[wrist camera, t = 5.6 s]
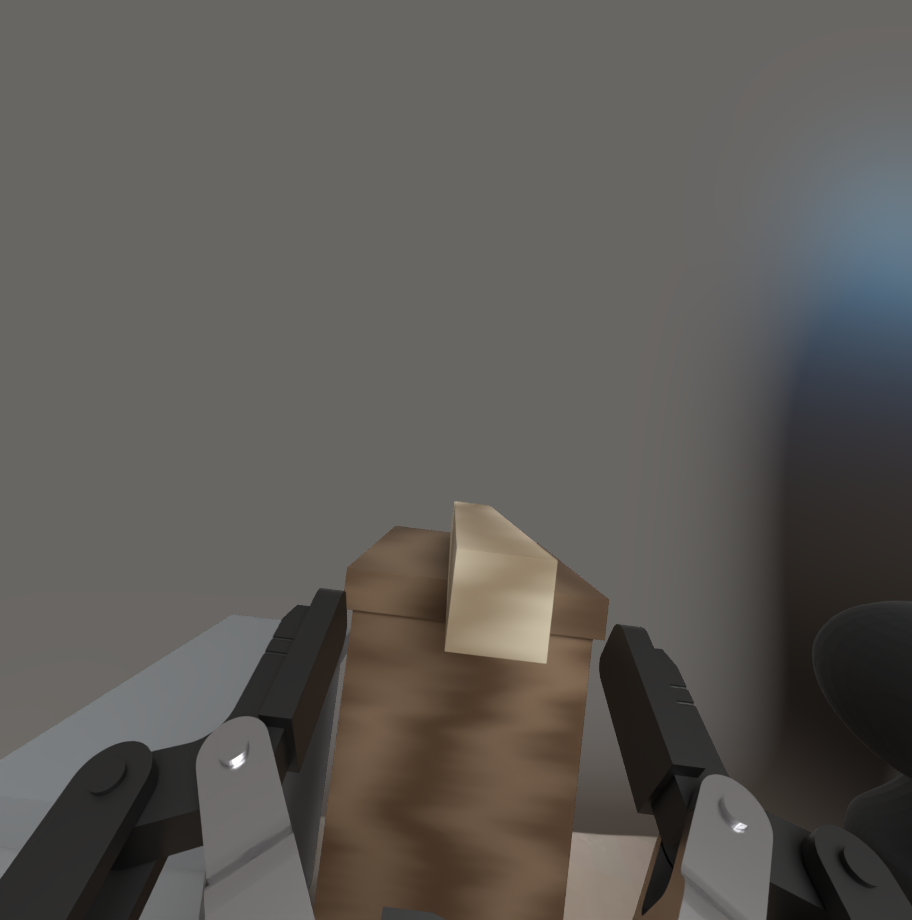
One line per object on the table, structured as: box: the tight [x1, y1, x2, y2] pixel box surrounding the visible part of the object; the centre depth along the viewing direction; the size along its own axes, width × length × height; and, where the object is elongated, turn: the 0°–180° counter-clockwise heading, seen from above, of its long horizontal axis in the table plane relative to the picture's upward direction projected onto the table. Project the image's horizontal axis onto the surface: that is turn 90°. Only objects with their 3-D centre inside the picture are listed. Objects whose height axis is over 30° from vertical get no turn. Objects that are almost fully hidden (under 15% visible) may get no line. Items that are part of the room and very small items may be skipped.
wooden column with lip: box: [313, 526, 609, 920], centre depth 27 cm, size 13×16×32 cm
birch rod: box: [444, 501, 558, 664], centre depth 23 cm, size 3×22×3 cm, turn 0°
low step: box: [0, 615, 350, 920], centre depth 26 cm, size 11×20×22 cm, turn 0°
